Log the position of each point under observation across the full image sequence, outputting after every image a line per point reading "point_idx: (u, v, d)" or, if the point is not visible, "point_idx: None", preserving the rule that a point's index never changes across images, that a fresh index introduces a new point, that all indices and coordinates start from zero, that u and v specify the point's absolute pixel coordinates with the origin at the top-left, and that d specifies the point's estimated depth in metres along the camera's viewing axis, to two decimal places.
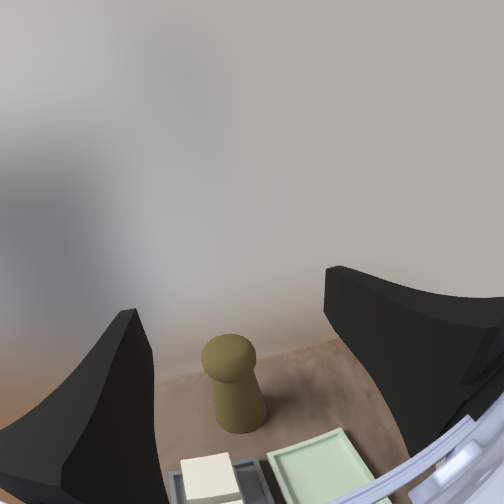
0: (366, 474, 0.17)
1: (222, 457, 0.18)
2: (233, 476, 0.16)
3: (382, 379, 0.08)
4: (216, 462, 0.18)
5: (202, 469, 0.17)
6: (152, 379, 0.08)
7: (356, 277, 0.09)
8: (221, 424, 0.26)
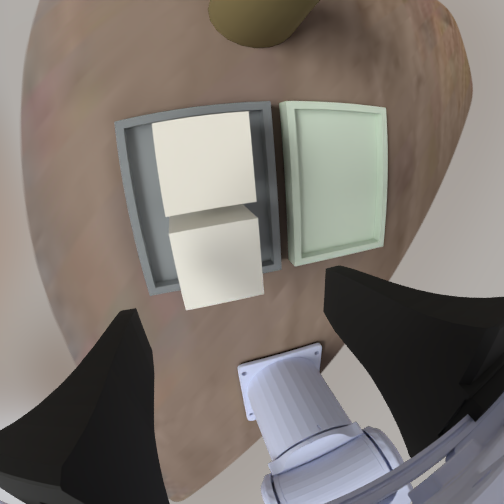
0: (382, 193, 0.19)
1: (237, 122, 0.11)
2: (251, 168, 0.12)
3: (381, 379, 0.08)
4: (223, 132, 0.11)
5: (196, 146, 0.11)
6: (152, 379, 0.08)
7: (356, 277, 0.09)
8: (218, 24, 0.12)
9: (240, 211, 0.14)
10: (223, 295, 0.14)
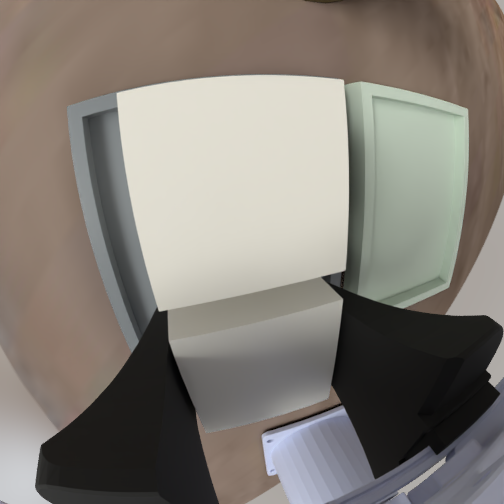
0: (458, 222, 0.13)
1: (322, 99, 0.05)
2: (345, 205, 0.06)
3: (345, 396, 0.07)
4: (292, 119, 0.05)
5: (227, 151, 0.04)
6: None
7: None
8: None
9: None
10: (267, 412, 0.08)
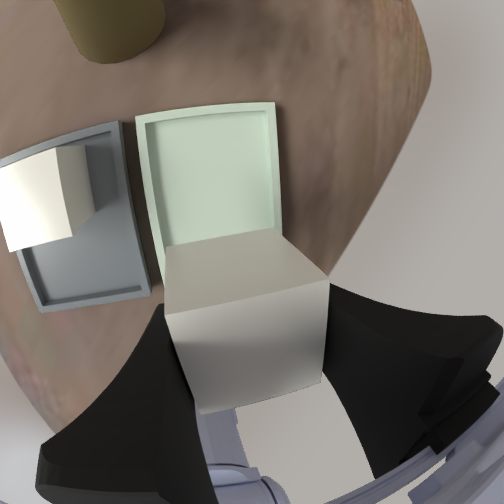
0: (274, 208, 0.17)
1: (46, 160, 0.09)
2: (62, 204, 0.10)
3: (345, 395, 0.07)
4: (37, 172, 0.09)
5: (19, 189, 0.09)
6: None
7: None
8: None
9: (289, 257, 0.08)
10: (260, 393, 0.08)
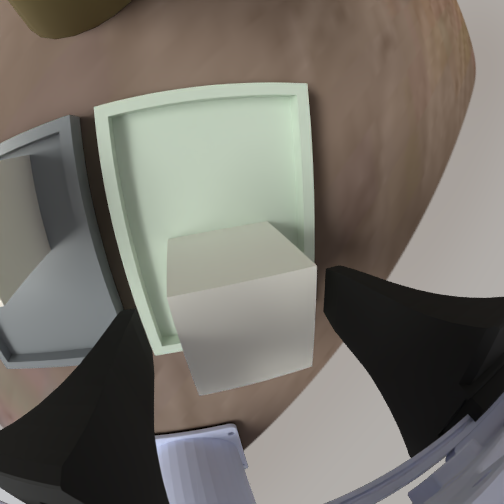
0: (305, 240, 0.12)
1: None
2: None
3: (382, 379, 0.08)
4: None
5: None
6: (152, 379, 0.08)
7: (356, 277, 0.09)
8: (26, 23, 0.05)
9: (281, 247, 0.09)
10: (254, 375, 0.09)
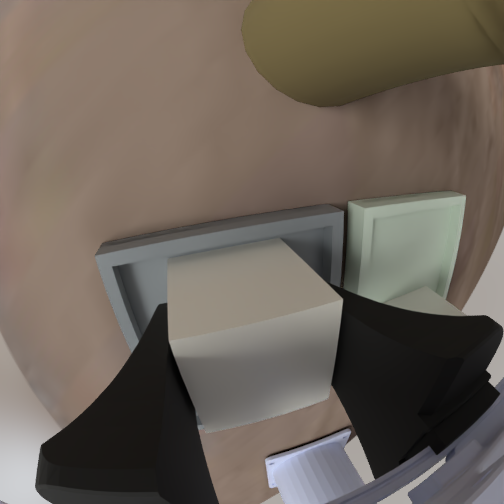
0: (442, 296, 0.15)
1: (323, 320, 0.07)
2: (331, 371, 0.08)
3: (345, 395, 0.07)
4: (298, 338, 0.07)
5: (252, 366, 0.07)
6: None
7: None
8: (263, 62, 0.08)
9: (453, 311, 0.12)
10: None
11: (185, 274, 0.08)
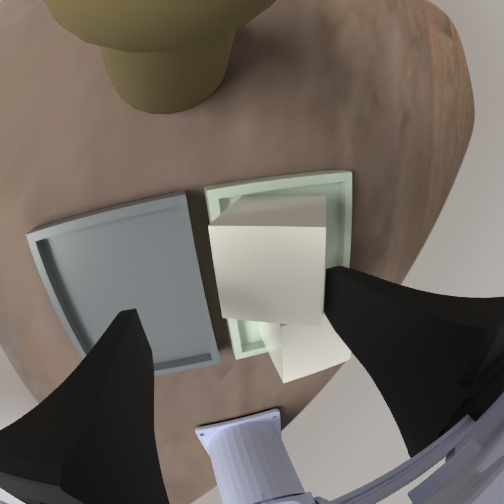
0: None
1: (309, 239, 0.09)
2: (320, 294, 0.10)
3: (382, 379, 0.08)
4: (291, 249, 0.10)
5: (257, 261, 0.10)
6: (152, 379, 0.08)
7: (356, 277, 0.09)
8: (118, 92, 0.10)
9: None
10: (317, 366, 0.14)
11: (245, 203, 0.13)
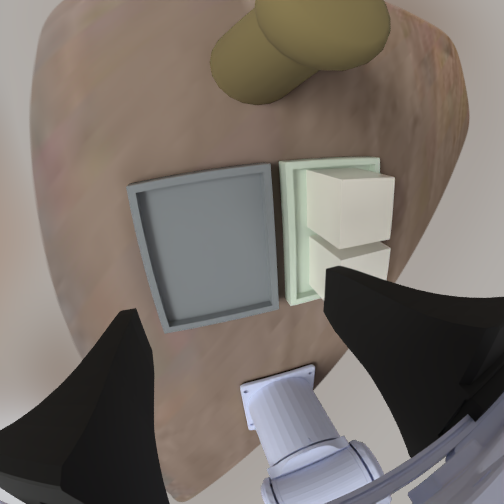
0: None
1: (388, 184, 0.15)
2: (391, 217, 0.16)
3: (381, 379, 0.08)
4: (380, 191, 0.16)
5: (365, 200, 0.15)
6: (152, 379, 0.08)
7: (356, 277, 0.09)
8: (220, 82, 0.15)
9: None
10: None
11: (324, 171, 0.17)
